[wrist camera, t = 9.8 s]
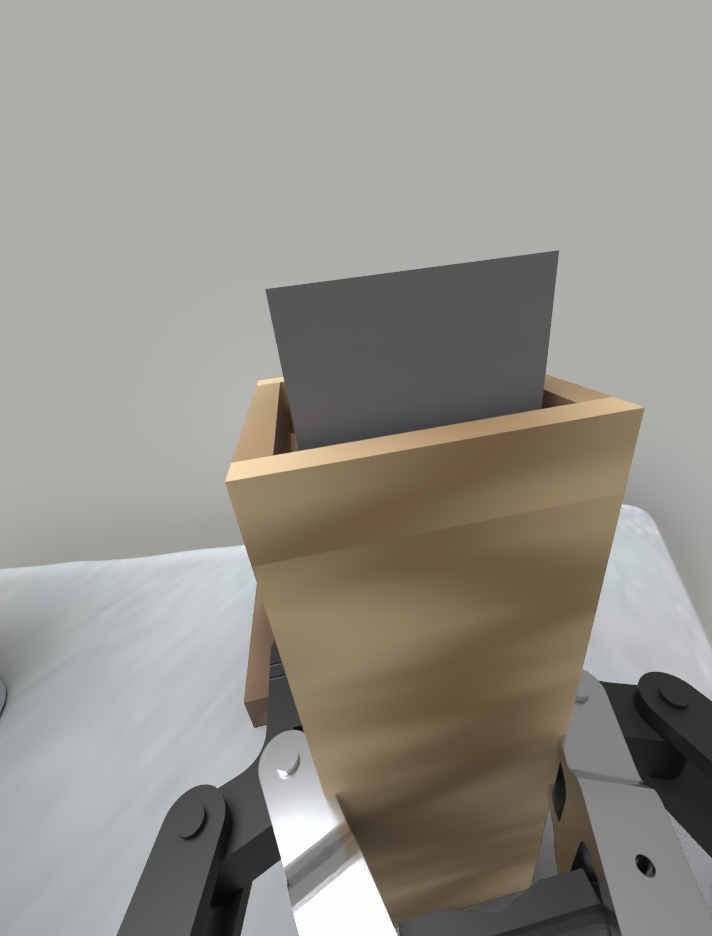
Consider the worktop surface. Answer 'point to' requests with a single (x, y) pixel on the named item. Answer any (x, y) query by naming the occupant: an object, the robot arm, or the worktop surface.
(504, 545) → the wooden square tube
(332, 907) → the robot arm
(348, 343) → the block
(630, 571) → the worktop surface
